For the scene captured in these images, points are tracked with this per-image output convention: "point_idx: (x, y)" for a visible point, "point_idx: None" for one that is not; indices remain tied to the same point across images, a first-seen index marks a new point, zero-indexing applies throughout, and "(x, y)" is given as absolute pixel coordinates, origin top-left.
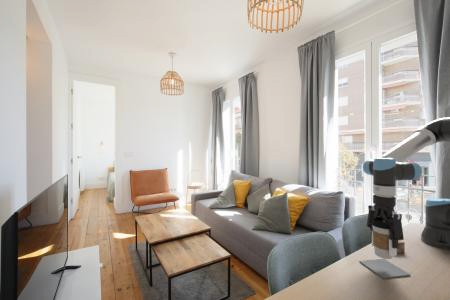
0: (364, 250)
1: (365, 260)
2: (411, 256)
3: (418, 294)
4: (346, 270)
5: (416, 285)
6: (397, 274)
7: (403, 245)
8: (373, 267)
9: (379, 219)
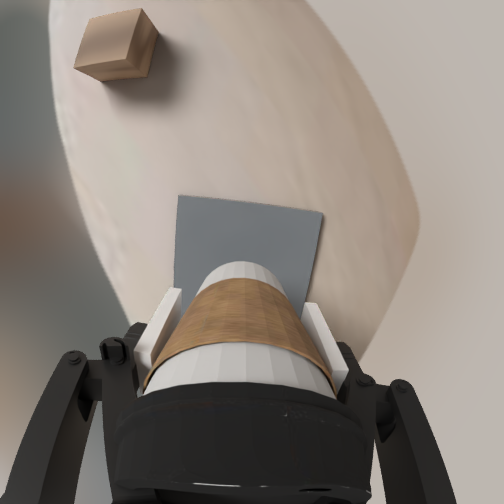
0: (87, 204)
1: None
2: (196, 33)
3: (389, 298)
4: None
5: (365, 256)
6: (303, 268)
7: (145, 21)
8: None
9: (155, 489)
